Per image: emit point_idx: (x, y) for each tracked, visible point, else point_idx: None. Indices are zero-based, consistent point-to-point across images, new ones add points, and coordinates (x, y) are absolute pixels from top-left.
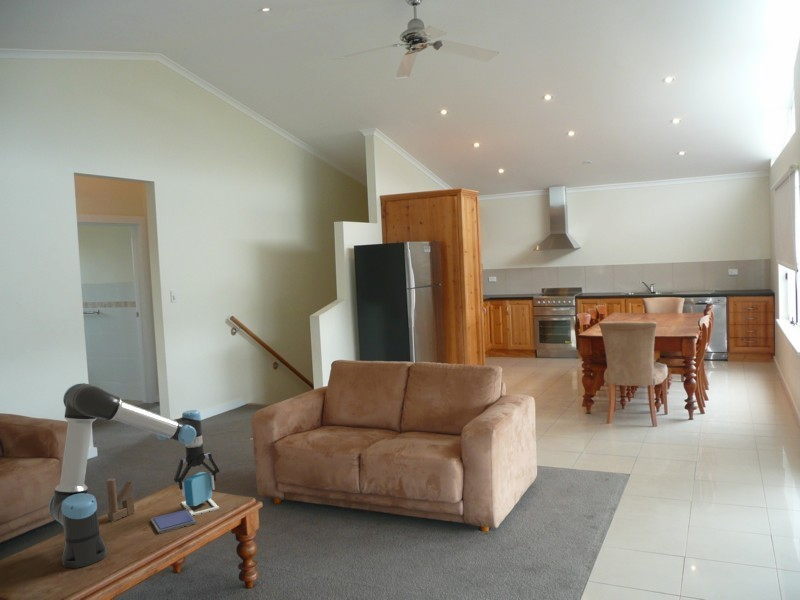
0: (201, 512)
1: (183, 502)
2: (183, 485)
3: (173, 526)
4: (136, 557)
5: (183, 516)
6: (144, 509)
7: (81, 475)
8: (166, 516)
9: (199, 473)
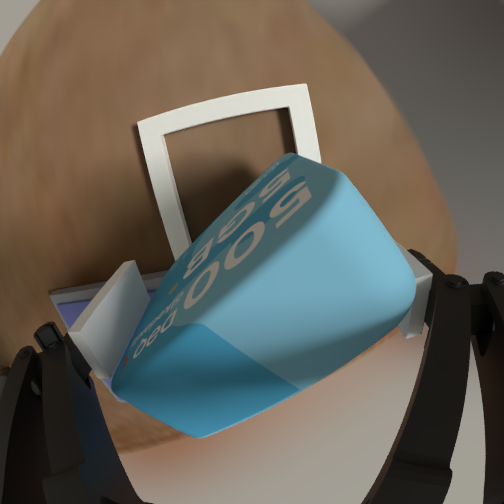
0: None
1: (149, 136)
2: (114, 358)
3: None
4: (119, 442)
5: None
6: (9, 138)
7: None
8: None
9: (284, 304)
